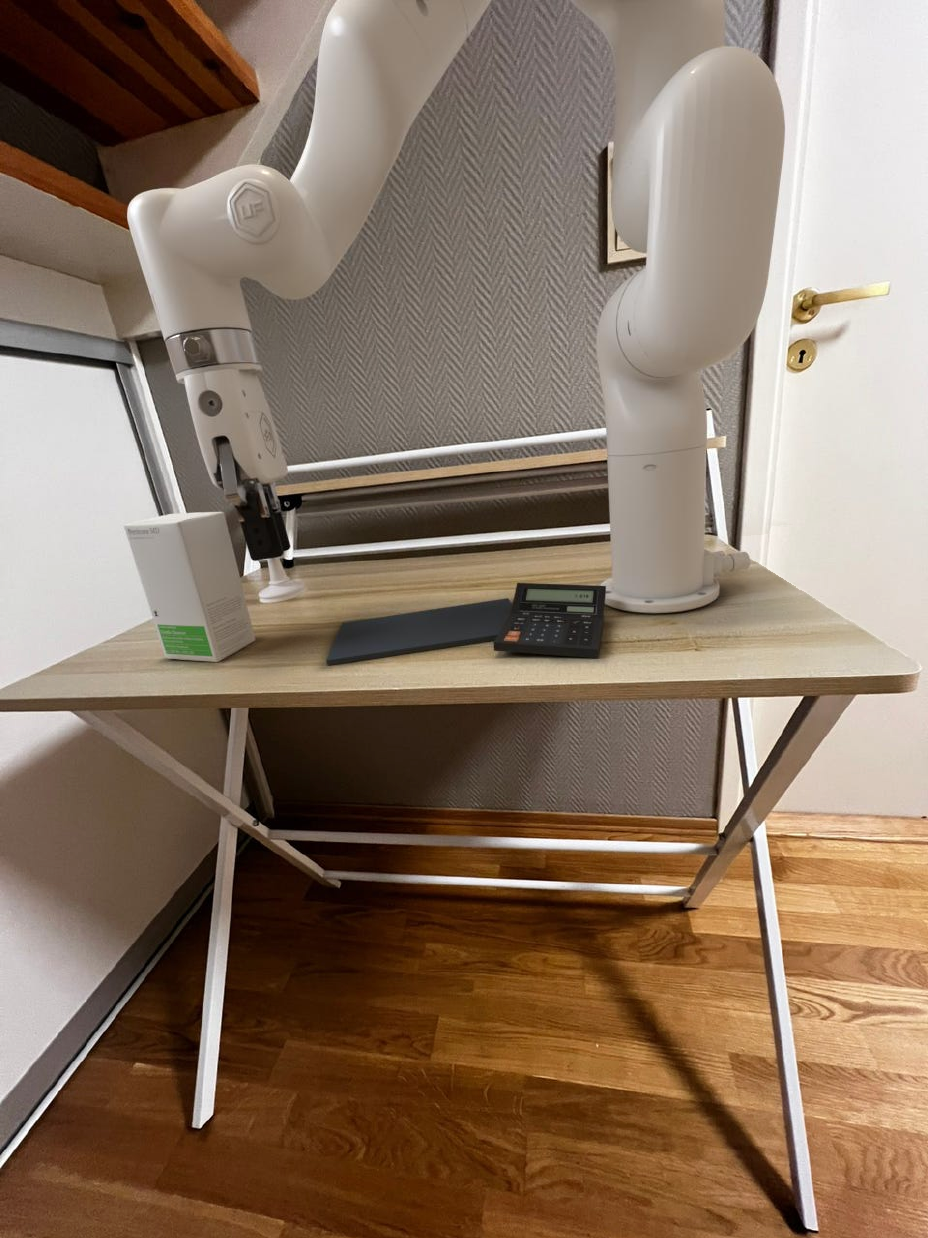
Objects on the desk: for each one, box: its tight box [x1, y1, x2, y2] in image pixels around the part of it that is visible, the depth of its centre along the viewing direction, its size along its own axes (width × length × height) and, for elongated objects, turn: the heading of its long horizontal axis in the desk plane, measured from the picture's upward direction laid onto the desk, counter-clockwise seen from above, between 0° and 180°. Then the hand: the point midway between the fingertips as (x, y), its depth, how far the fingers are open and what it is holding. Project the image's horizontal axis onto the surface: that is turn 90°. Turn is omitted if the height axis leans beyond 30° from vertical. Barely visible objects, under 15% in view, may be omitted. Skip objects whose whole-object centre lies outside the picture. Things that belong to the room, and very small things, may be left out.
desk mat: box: [325, 597, 512, 666], centre depth 59 cm, size 20×11×1 cm, turn 94°
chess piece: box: [258, 557, 308, 604], centre depth 55 cm, size 5×5×10 cm
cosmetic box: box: [123, 511, 256, 663], centre depth 60 cm, size 8×7×16 cm
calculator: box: [492, 582, 606, 659], centre depth 53 cm, size 9×12×3 cm
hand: (271, 553), depth 55 cm, fingers closed on chess piece
